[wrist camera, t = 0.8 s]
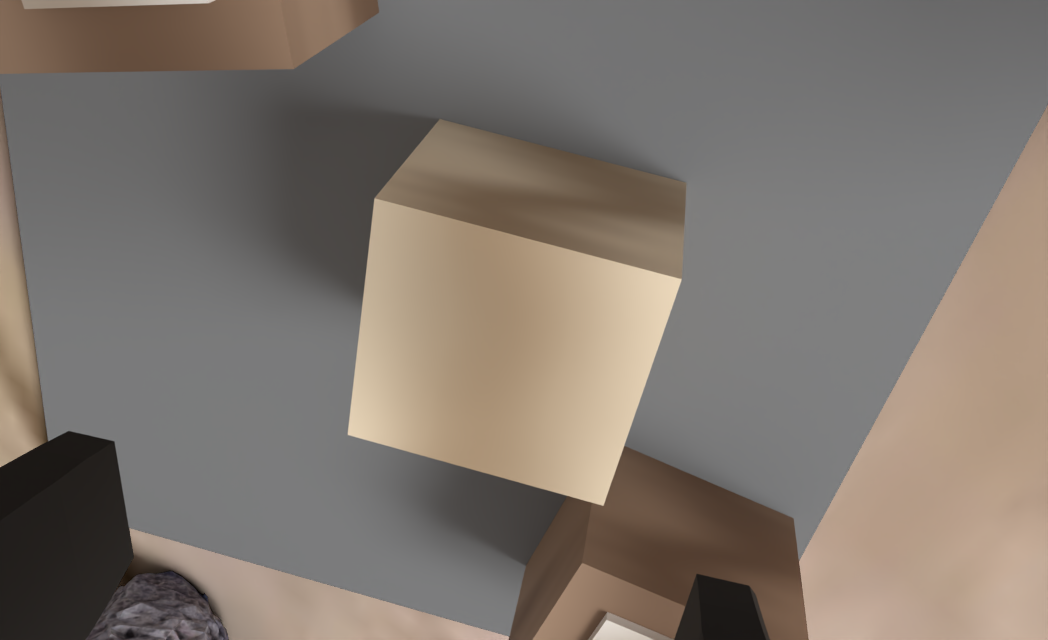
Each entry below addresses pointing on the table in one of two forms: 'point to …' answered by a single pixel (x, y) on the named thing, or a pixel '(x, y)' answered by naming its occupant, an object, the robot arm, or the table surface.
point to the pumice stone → (158, 612)
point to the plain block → (514, 307)
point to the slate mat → (545, 119)
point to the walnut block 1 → (170, 34)
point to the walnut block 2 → (656, 559)
